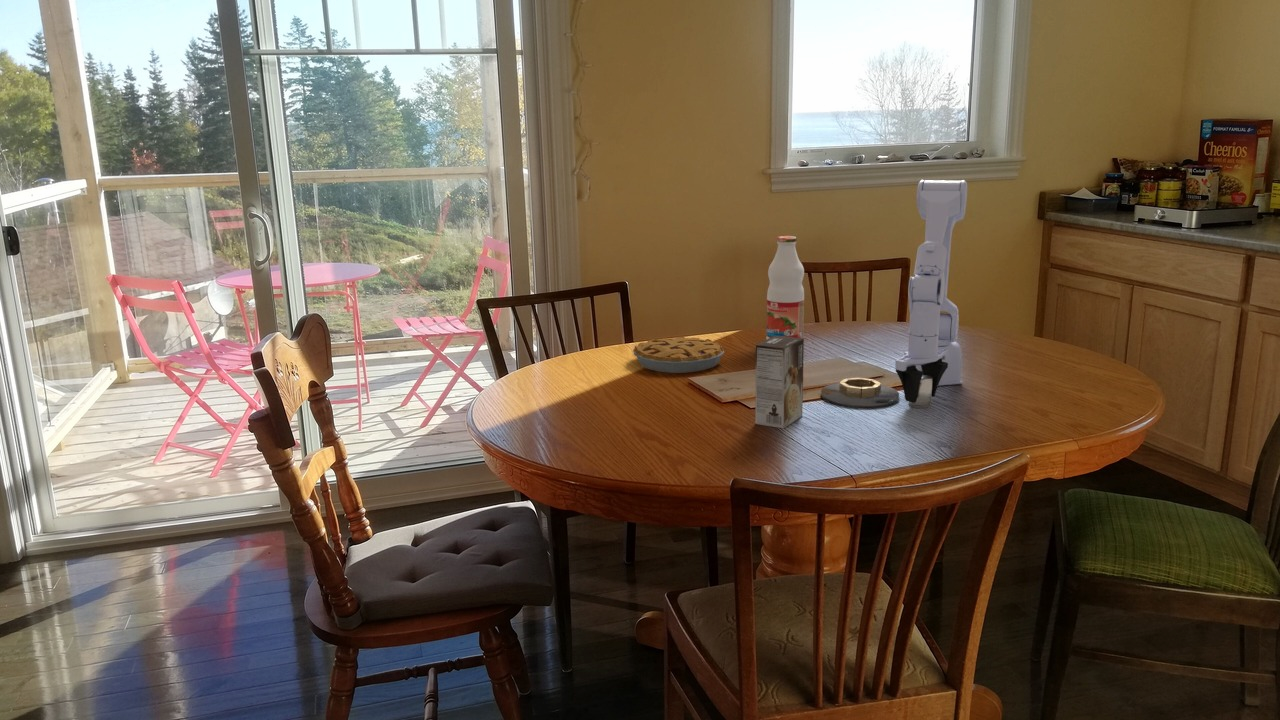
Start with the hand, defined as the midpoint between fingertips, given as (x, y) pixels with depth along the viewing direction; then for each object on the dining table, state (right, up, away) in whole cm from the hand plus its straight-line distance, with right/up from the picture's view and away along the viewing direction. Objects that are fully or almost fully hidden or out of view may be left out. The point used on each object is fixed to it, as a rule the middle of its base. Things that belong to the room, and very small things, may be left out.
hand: (920, 398), depth 196 cm
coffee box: (-30, -4, -7) cm, 31 cm away
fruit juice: (-20, +12, +53) cm, 57 cm away
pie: (-48, +7, +38) cm, 61 cm away
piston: (0, -1, 0) cm, 1 cm away
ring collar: (-11, 0, +7) cm, 13 cm away
